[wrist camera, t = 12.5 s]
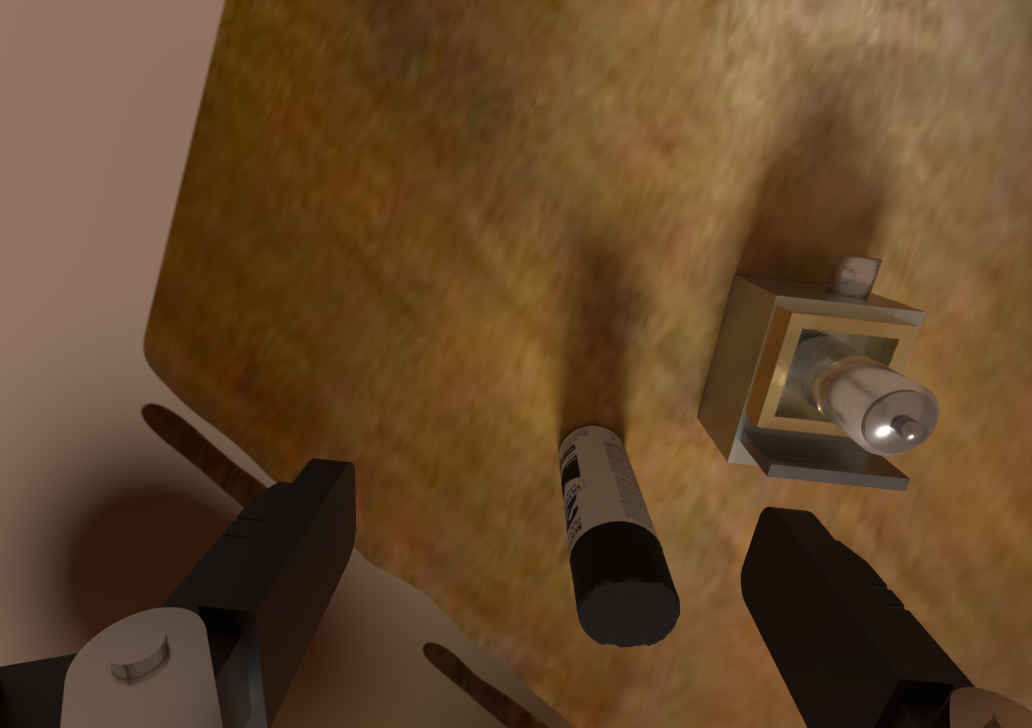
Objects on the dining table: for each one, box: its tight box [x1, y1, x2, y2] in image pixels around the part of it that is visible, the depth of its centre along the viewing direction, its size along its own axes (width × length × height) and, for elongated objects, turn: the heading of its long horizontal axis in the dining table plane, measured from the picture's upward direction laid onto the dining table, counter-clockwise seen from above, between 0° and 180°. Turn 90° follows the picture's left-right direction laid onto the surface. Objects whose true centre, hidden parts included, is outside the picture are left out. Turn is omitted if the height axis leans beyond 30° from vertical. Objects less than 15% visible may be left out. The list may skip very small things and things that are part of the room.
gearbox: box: [697, 253, 926, 491], centre depth 40 cm, size 17×11×13 cm, turn 174°
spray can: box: [559, 425, 680, 647], centre depth 41 cm, size 7×7×20 cm
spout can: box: [786, 336, 940, 456], centre depth 33 cm, size 5×5×11 cm
